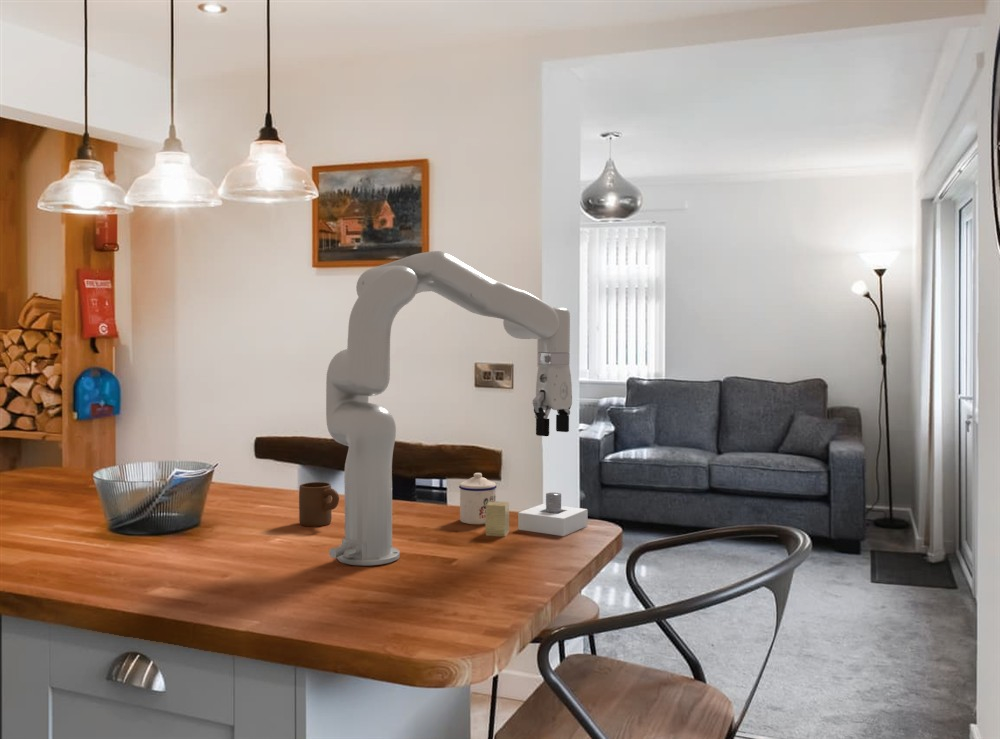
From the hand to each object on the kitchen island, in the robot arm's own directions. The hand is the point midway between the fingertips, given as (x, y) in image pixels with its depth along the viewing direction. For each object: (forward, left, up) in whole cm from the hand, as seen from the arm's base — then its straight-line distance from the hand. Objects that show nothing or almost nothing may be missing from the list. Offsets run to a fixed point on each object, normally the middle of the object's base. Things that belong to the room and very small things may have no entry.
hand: (552, 433), depth 203 cm
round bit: (0, 0, -22) cm, 22 cm away
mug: (-27, +48, -23) cm, 59 cm away
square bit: (-12, +8, -22) cm, 26 cm away
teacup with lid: (-2, +19, -23) cm, 29 cm away
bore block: (0, 0, -22) cm, 22 cm away
